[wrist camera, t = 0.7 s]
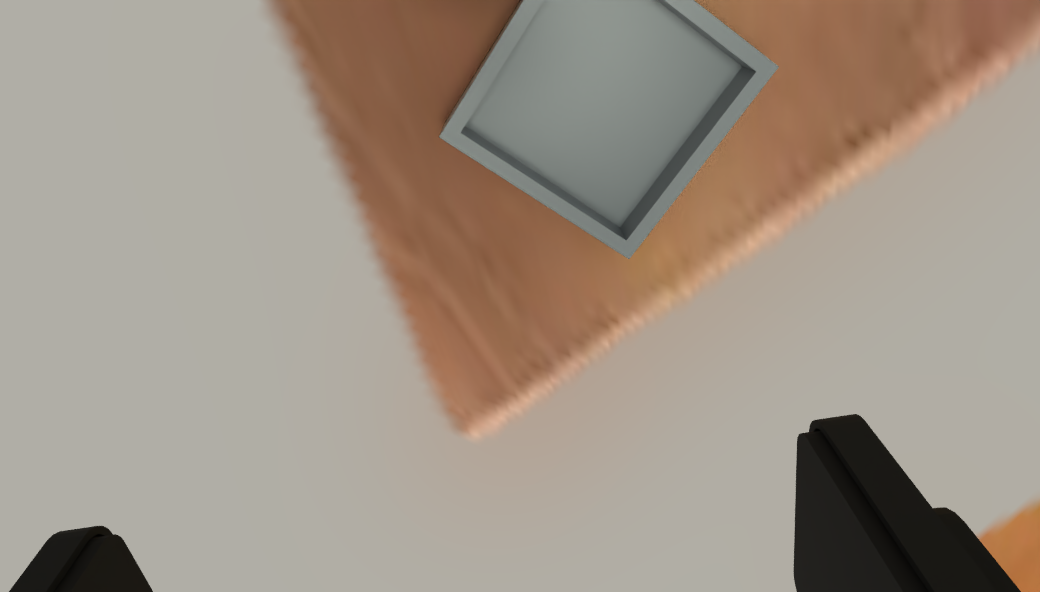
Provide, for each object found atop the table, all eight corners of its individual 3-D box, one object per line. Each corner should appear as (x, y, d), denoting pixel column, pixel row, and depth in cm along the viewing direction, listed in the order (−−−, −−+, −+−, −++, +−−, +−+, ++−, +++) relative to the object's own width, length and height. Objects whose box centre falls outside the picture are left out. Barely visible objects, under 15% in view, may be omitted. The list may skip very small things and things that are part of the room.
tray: (572, -85, 35) (578, -90, 32) (758, 60, 38) (778, 66, 35) (443, 125, 39) (439, 137, 36) (620, 240, 42) (629, 259, 39)
